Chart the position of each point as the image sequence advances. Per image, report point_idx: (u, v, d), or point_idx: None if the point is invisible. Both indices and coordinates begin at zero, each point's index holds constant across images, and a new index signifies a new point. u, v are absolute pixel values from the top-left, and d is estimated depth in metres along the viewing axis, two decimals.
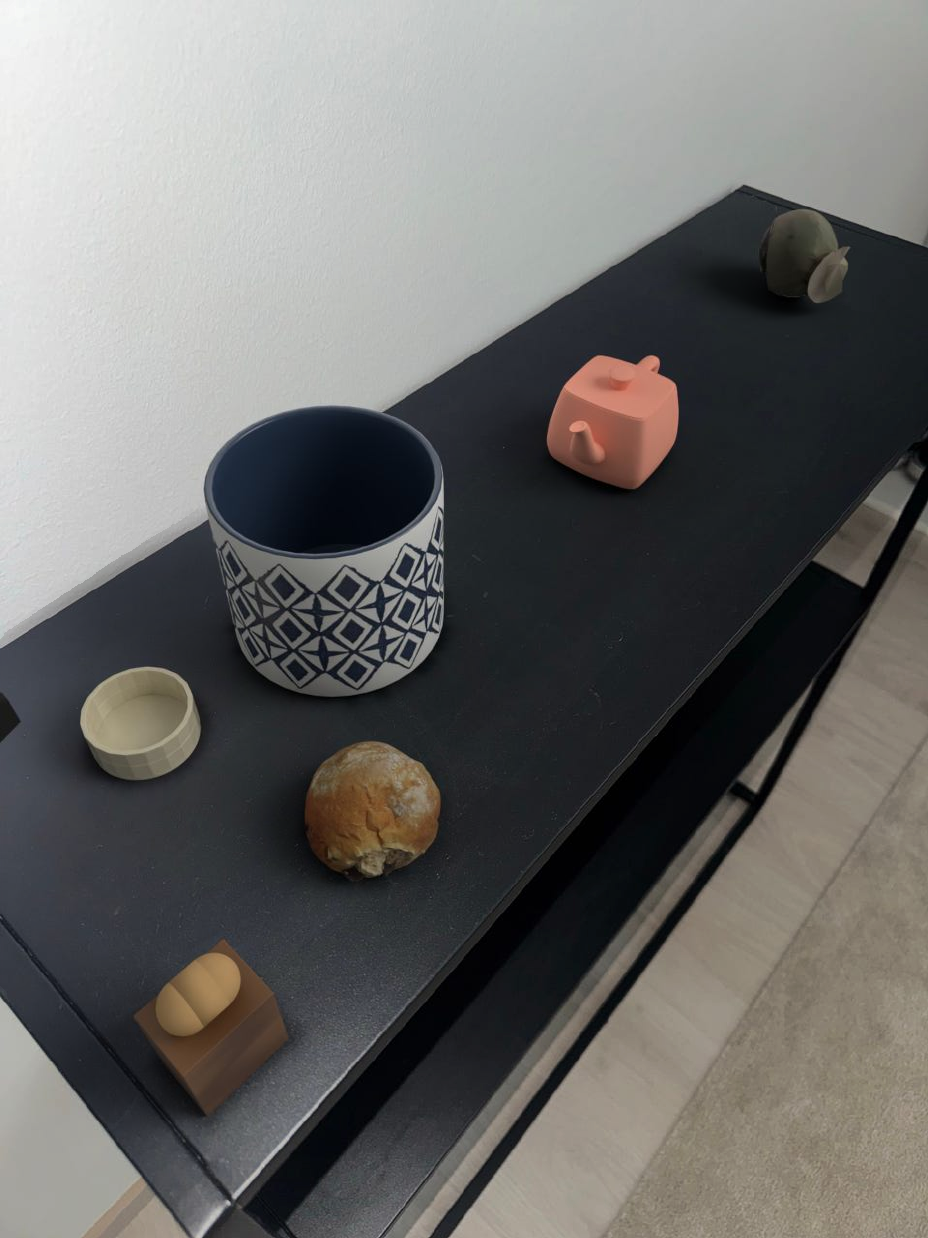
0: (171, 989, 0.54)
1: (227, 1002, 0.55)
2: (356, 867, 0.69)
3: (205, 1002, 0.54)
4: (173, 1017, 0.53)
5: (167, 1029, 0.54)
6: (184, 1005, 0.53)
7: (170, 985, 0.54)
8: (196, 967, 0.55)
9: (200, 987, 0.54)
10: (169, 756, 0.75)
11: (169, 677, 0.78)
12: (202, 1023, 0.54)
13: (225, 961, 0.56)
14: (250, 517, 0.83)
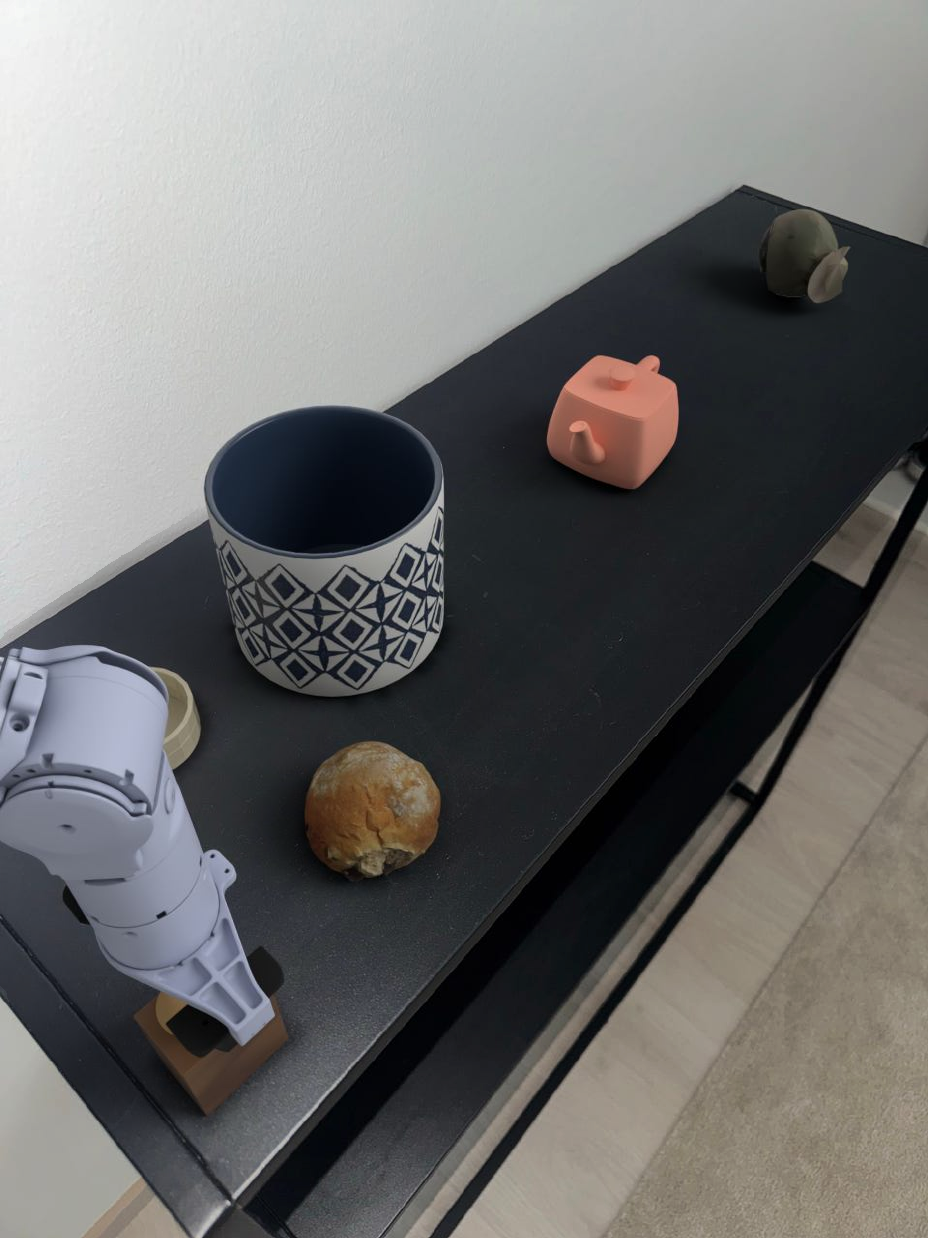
0: None
1: None
2: (356, 867, 0.69)
3: None
4: None
5: (167, 1029, 0.54)
6: (184, 1005, 0.53)
7: None
8: None
9: None
10: (169, 756, 0.75)
11: (169, 677, 0.78)
12: None
13: None
14: (250, 517, 0.83)
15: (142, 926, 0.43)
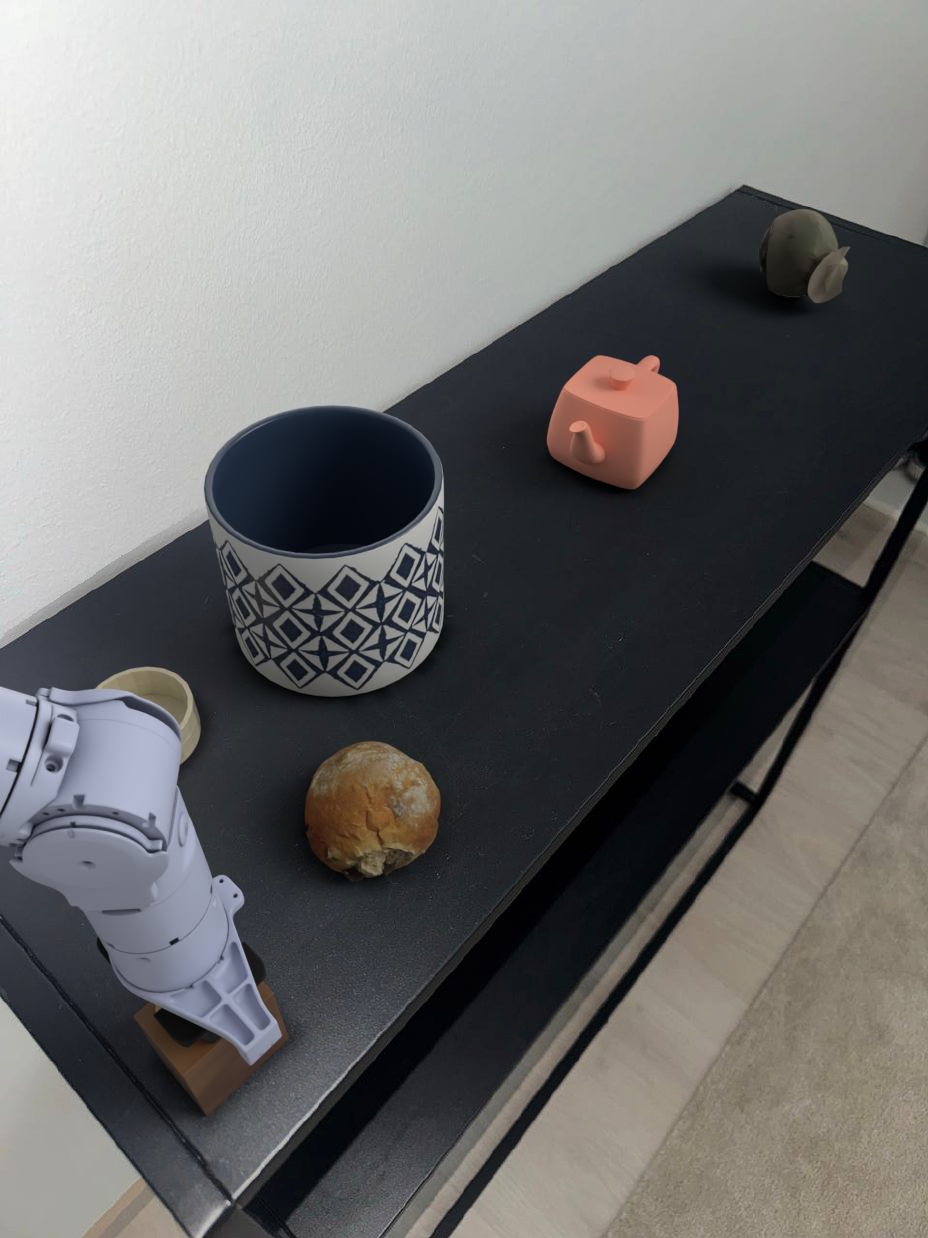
0: None
1: None
2: (356, 867, 0.69)
3: None
4: None
5: None
6: None
7: None
8: None
9: None
10: None
11: (169, 677, 0.78)
12: None
13: None
14: (250, 517, 0.83)
15: (156, 952, 0.45)
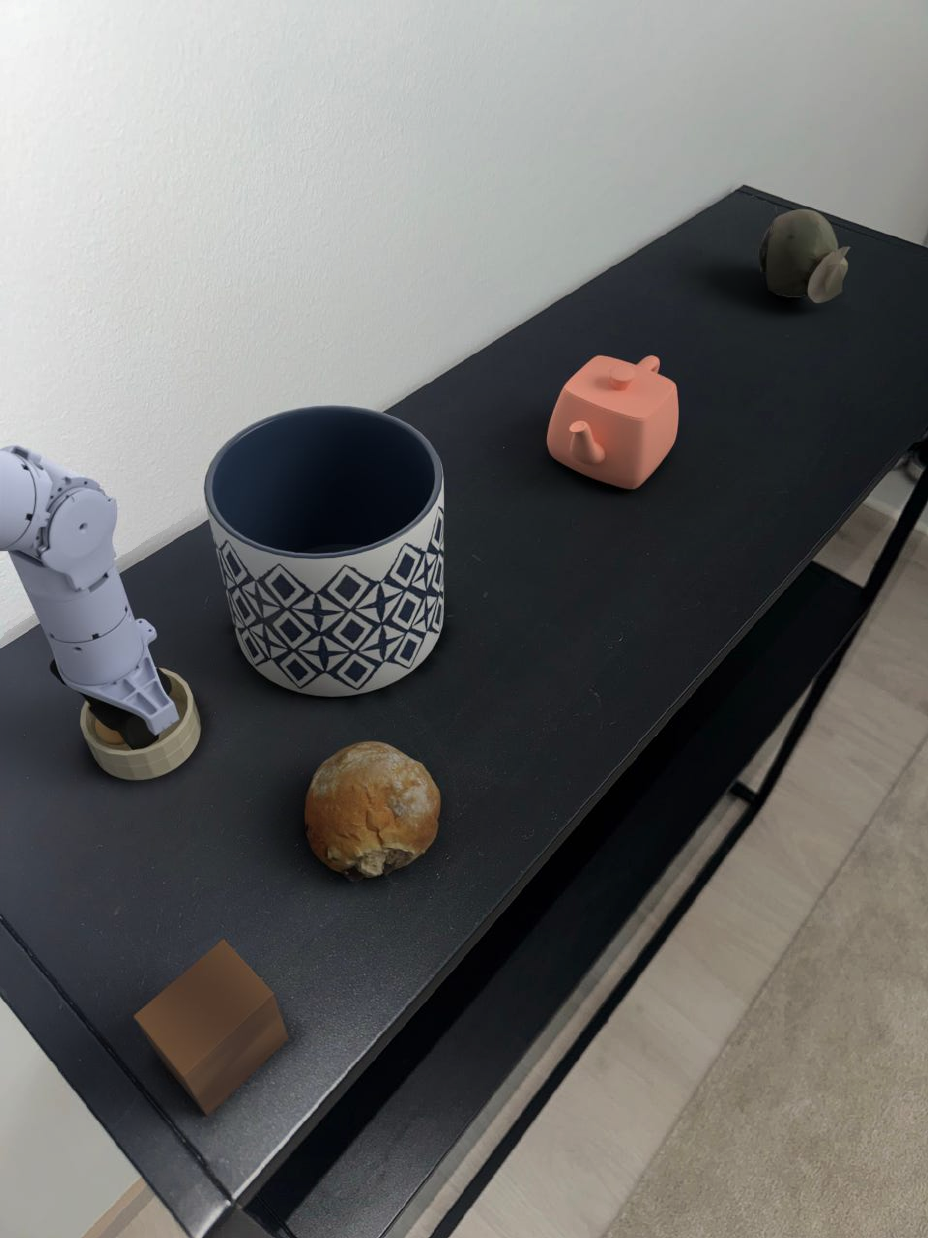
0: None
1: None
2: (356, 867, 0.69)
3: None
4: None
5: (103, 737, 0.73)
6: None
7: None
8: None
9: None
10: (169, 756, 0.75)
11: (169, 677, 0.78)
12: None
13: None
14: (250, 517, 0.83)
15: (86, 642, 0.64)
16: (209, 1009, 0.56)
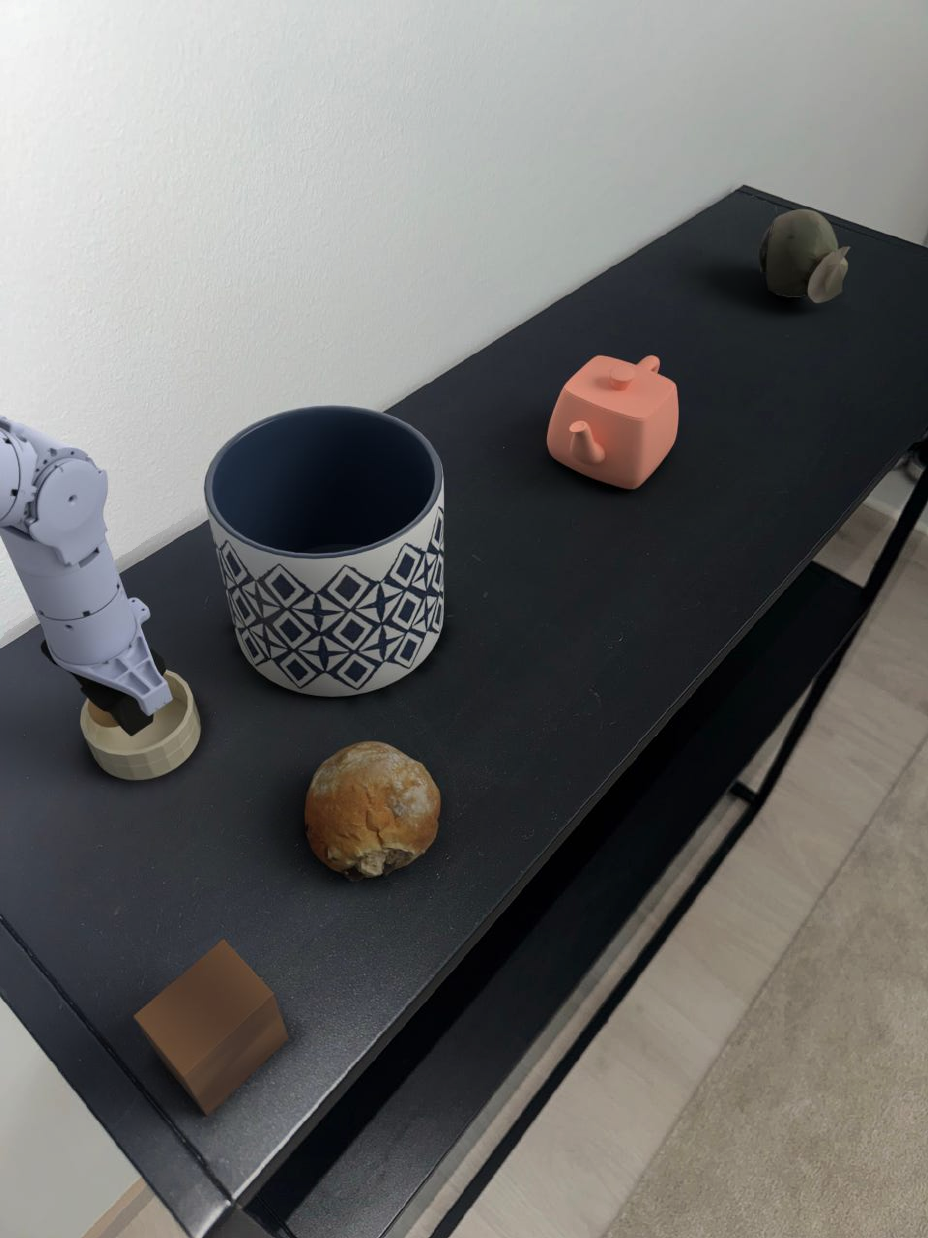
0: None
1: None
2: (356, 867, 0.69)
3: None
4: None
5: (96, 719, 0.72)
6: None
7: None
8: None
9: None
10: (169, 756, 0.75)
11: (169, 677, 0.78)
12: None
13: None
14: (250, 517, 0.83)
15: (76, 620, 0.63)
16: (209, 1009, 0.56)
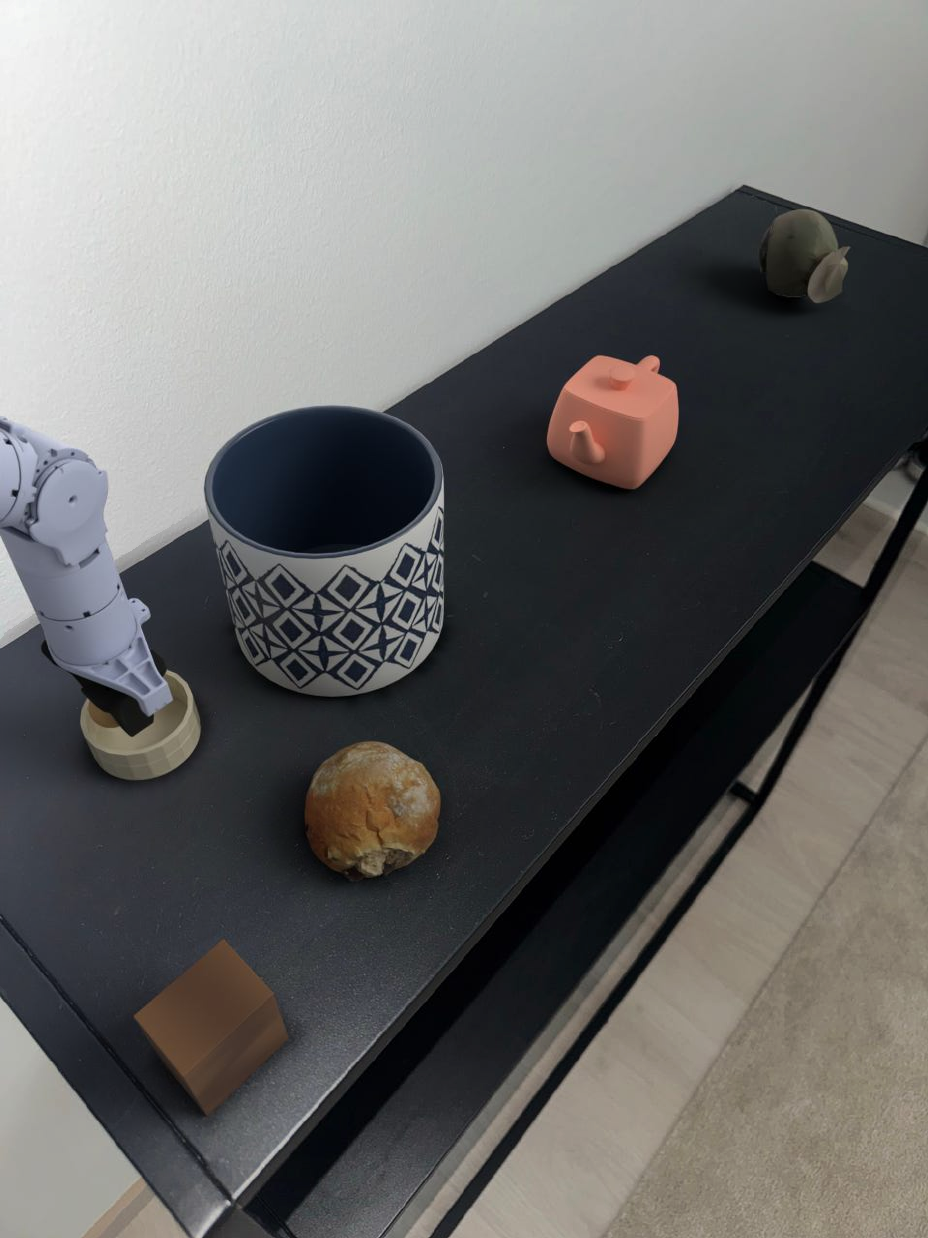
0: None
1: None
2: (356, 867, 0.69)
3: None
4: None
5: (96, 719, 0.72)
6: None
7: None
8: None
9: None
10: (169, 756, 0.75)
11: (169, 677, 0.78)
12: None
13: None
14: (250, 516, 0.83)
15: (77, 621, 0.63)
16: (209, 1009, 0.56)
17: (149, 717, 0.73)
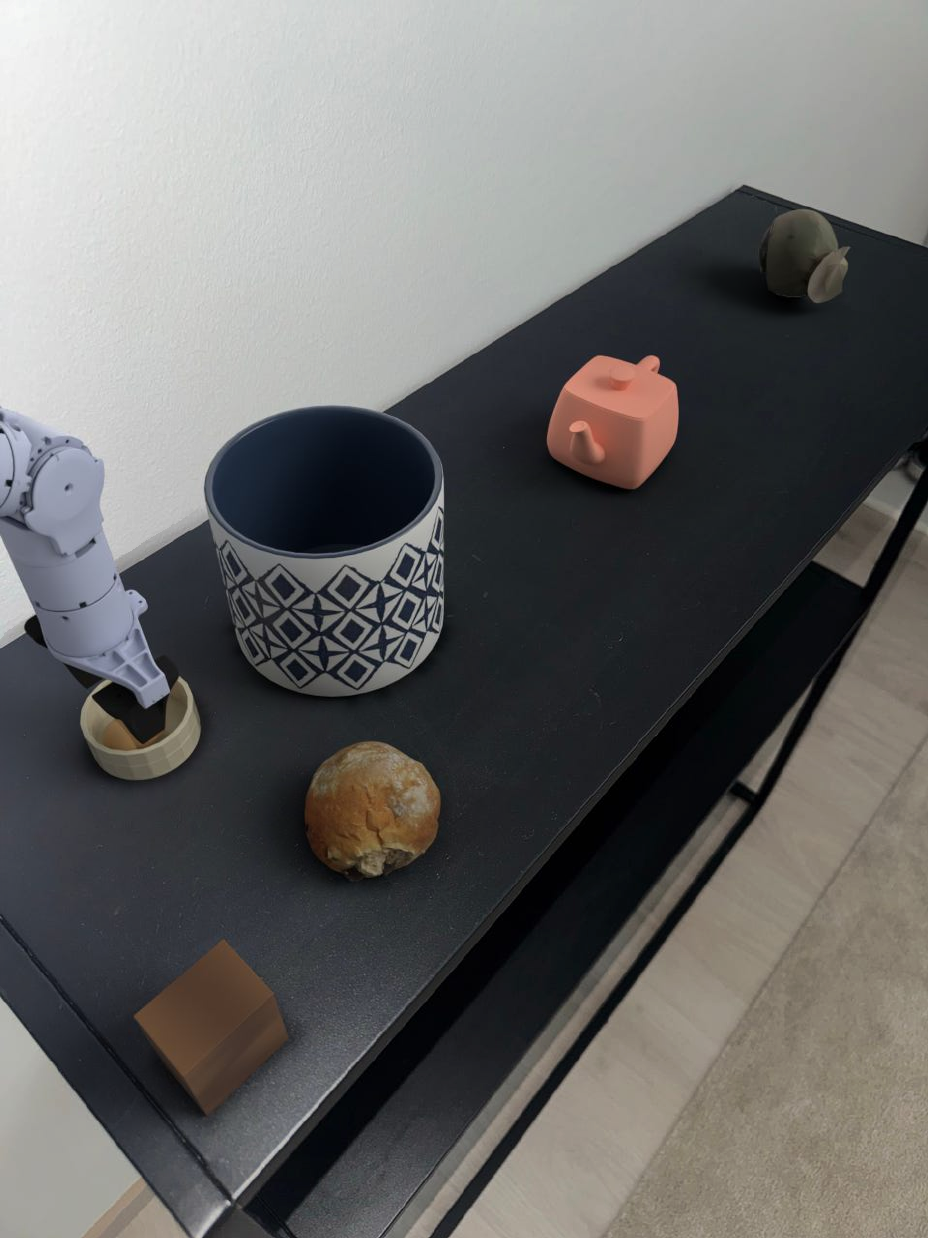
0: (115, 723, 0.75)
1: (156, 736, 0.76)
2: (356, 867, 0.69)
3: None
4: (116, 742, 0.74)
5: None
6: (124, 734, 0.74)
7: (114, 721, 0.75)
8: None
9: None
10: (169, 756, 0.75)
11: None
12: (137, 748, 0.75)
13: None
14: (250, 516, 0.83)
15: (73, 611, 0.62)
16: (209, 1009, 0.56)
17: (160, 724, 0.72)
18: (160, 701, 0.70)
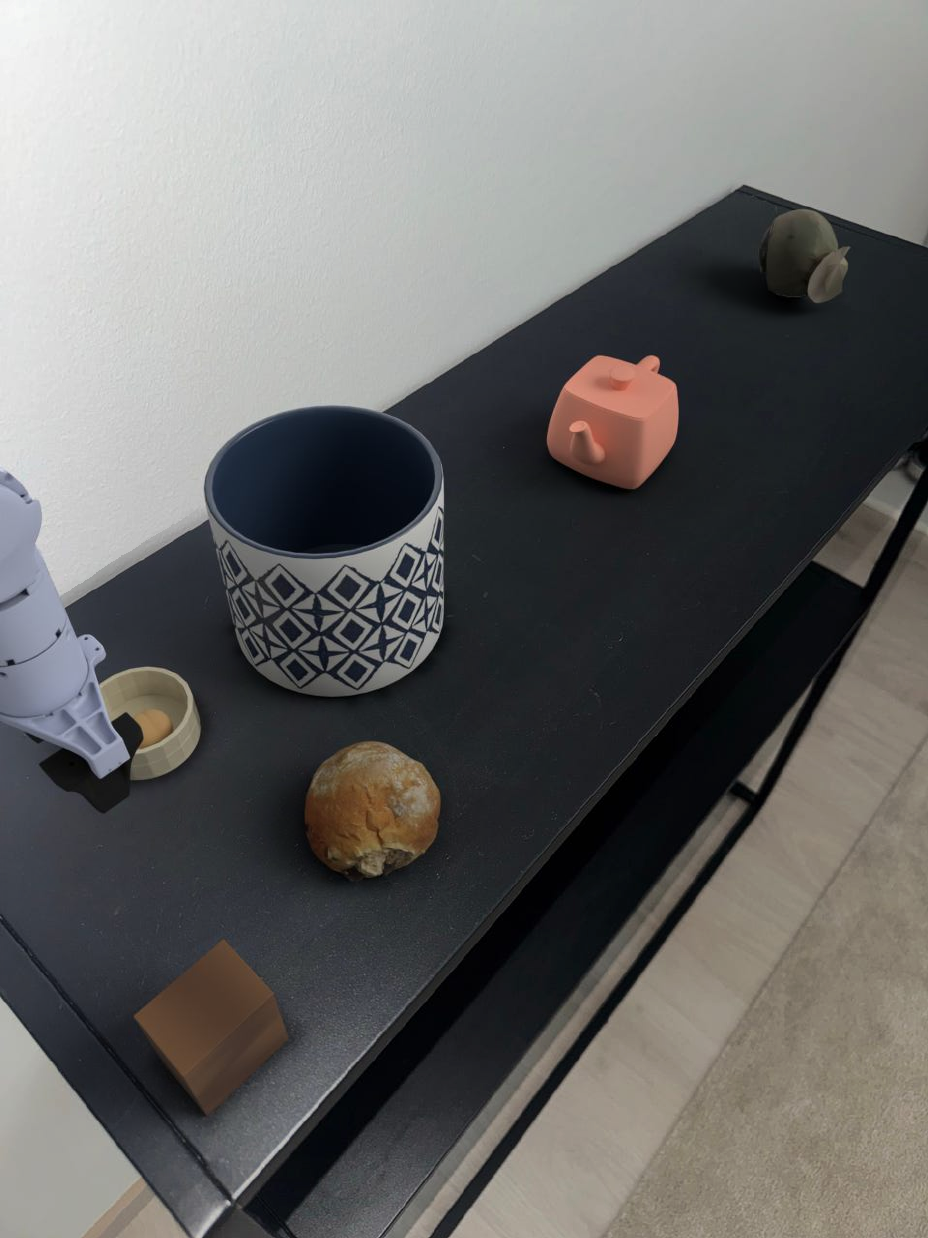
0: None
1: None
2: (356, 867, 0.69)
3: None
4: None
5: None
6: None
7: None
8: (147, 723, 0.75)
9: (150, 739, 0.74)
10: (169, 756, 0.75)
11: (169, 677, 0.78)
12: None
13: (167, 721, 0.76)
14: (250, 517, 0.83)
15: (11, 667, 0.52)
16: (209, 1009, 0.56)
17: (124, 790, 0.62)
18: (123, 766, 0.60)
